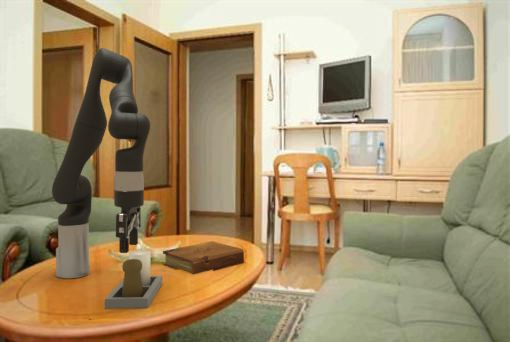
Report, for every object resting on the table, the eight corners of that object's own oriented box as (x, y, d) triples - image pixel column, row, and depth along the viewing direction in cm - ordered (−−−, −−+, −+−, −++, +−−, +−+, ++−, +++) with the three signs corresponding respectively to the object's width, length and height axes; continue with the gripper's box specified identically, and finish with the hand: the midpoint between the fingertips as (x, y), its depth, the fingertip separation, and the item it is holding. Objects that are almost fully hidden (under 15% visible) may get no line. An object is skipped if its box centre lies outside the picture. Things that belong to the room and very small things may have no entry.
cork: (131, 305, 103) (130, 264, 103) (116, 300, 107) (115, 260, 106) (149, 298, 108) (148, 259, 108) (134, 294, 112) (133, 255, 111)
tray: (104, 310, 101) (104, 299, 101) (126, 286, 120) (125, 276, 120) (147, 310, 102) (147, 298, 102) (162, 285, 121) (162, 275, 121)
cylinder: (126, 293, 112) (126, 255, 112) (132, 286, 118) (132, 250, 118) (148, 293, 113) (147, 255, 112) (152, 286, 119) (152, 249, 118)
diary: (193, 278, 130) (193, 261, 130) (163, 266, 144) (162, 251, 143) (243, 263, 147) (243, 248, 146) (212, 254, 160) (212, 240, 159)
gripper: (123, 185, 112) (123, 242, 112) (105, 190, 98) (105, 255, 98) (149, 186, 112) (149, 242, 113) (135, 191, 98) (135, 255, 98)
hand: (129, 248), depth 105 cm, fingers open, 8 cm apart
